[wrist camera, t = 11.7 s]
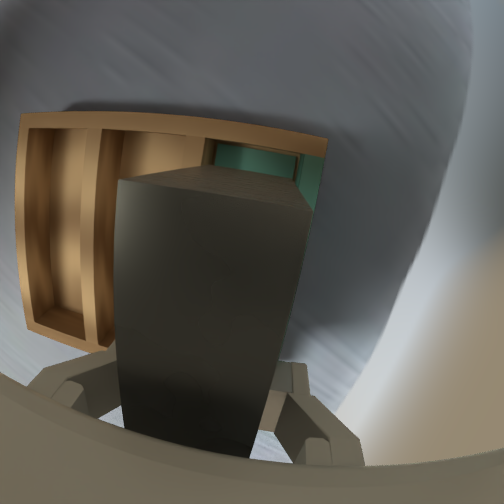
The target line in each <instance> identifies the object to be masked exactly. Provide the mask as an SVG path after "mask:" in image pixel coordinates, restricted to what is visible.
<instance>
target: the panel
mask: <svg viewBox="0 0 504 504" xmlns="http://www.w3.org/2000/svg"><path fill="white" fill-rule="evenodd" d="M312 217H313V210H312V208H311V207H310V205H309V204H308V202H307V201H306V199H305V198H304V196H303V195H302V193H301V192H300V190H299V189H298V187H297V186H296V184H295V183H294V182H293V180H292V179H291V178H286V177H280V176H275V175H270V174H264V173H258V172H253V171H247V170H241V169H235V168H228V167H222V166H215V165H203V166H196V167H189V168H182V169H176V170H170V171H163V172H157V173H152V174H146V175H140V176H135V177H130V178H124V179H119V180H118V188H117V200H116V214H115V233H114V268H113V292H114V326H115V345H116V359H117V370H118V381H119V390H120V399H121V407H122V414H123V421H124V428H125V429H128V430H131V431H134V432H137V433H140V434H143V435H147V436H150V437H154V438H157V439H161V440H164V441H168V442H172V443H175V444H179V445H183V446H188V447H192V448H196V449H201V450H205V451H210V452H215V453H220V454H226V455H231V456H237V457H243V458H249V457H250V454H251V451H252V448H253V445H254V441H255V438H256V435H257V432H258V428H259V425H260V422H261V418H262V415H263V411H264V408H265V405H266V401H267V398H268V394H269V391H270V387H271V384H272V380H273V376H274V373H275V369H276V366H277V362H278V358H279V355H280V351H281V347H282V343H283V339H284V336H285V332H286V328H287V324H288V320H289V316H290V312H291V308H292V304H293V300H294V296H295V292H296V288H297V283H298V279H299V275H300V271H301V266H302V262H303V258H304V253H305V249H306V244H307V240H308V235H309V231H310V226H311V222H312Z"/></svg>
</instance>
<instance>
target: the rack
mask: <svg viewBox="0 0 504 504" xmlns="http://www.w3.org/2000/svg"><path fill="white" fill-rule="evenodd" d="M327 144H328V139H327V138H323V137H318V136H313V135H309V134H304V133H299V132H294V131H289V130H283V129H278V128H272V127H267V126H261V125H254V124H248V123H241V122H234V121H227V120H219V119H211V118H202V117H193V116H183V115H171V114H158V113H141V112H117V111H62V112H39V113H23V114H21V118H20V126H19V134H18V144H17V156H16V173H15V231H16V248H17V260H18V270H19V279H20V287H21V294H22V301H23V307H24V313H25V319H26V324H27V329H28V330H31V331H33V332H36V333H38V334H40V335H43V336H45V337H48V338H50V339H53V340H56V341H58V342H61V343H63V344H66V345H69V346H72V347H74V348H77V349H80V350H83V351H86V352H89V353H95V352H98V351H101V350H103V351H106V350H107V349H108V348H109V346H110V345H111V344H112V343H113V341H114V340H115V326H114V292H113V268H114V233H115V214H116V200H117V188H118V180H119V179H124V178H130V177H135V176H140V175H146V174H152V173H157V172H163V171H170V170H176V169H182V168H189V167H196V166H203V165H215V166H222V167H228V168H235V169H241V170H247V171H253V172H258V173H264V174H270V175H275V176H280V177H286V178H291V179H292V180H293V182H294V183H295V184H296V186H297V187H298V189H299V190H300V192H301V193H302V195H303V196H304V198H305V199H306V201H307V202H308V204H309V205H310V207H311V208H312V210H313V215H314V210H315V205H316V200H317V196H318V191H319V186H320V181H321V176H322V170H323V165H324V160H325V155H326V149H327ZM312 219H313V217H312ZM311 224H312V222H311ZM310 229H311V226H310ZM309 233H310V231H309ZM308 238H309V235H308ZM307 242H308V240H307ZM306 247H307V244H306ZM305 251H306V249H305ZM304 255H305V253H304ZM303 260H304V258H303ZM302 264H303V262H302ZM301 268H302V266H301ZM300 273H301V271H300ZM299 277H300V275H299ZM298 281H299V279H298ZM297 285H298V283H297ZM296 289H297V288H296ZM295 294H296V292H295ZM294 298H295V296H294ZM293 302H294V300H293ZM292 306H293V304H292ZM291 310H292V308H291ZM290 314H291V312H290ZM289 318H290V316H289ZM288 322H289V320H288ZM287 325H288V324H287ZM286 329H287V328H286ZM285 333H286V332H285ZM284 337H285V336H284ZM283 341H284V339H283ZM282 345H283V343H282ZM281 348H282V347H281ZM280 352H281V351H280ZM279 356H280V355H279ZM278 359H279V358H278Z"/></svg>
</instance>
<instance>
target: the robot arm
mask: <svg viewBox="0 0 504 504" xmlns="http://www.w3.org/2000/svg"><path fill="white" fill-rule="evenodd" d="M120 405H121V399H120V390H119V381H118V370H117V359H116V345H115V340H114V341H113V343H112V344H111V345H110V346H109V348H108V349H107V350H106V351H103V350H101V351H98V352H95V353H91V354H88V355H85V356H82V357H79V358H75V359H72V360H69V361H66V362H62V363H59V364H56V365H52V366H49V367H46V368H44V369H43V370H42V371H41V372H40V373H39V374H38V375H37V376H36V377H35V378H34V379H33V380H32V381H31V382H30V383H29V385H28V386H27V387H26V386H24V385H22V384H20V383H18V382H17V381H15V380H13V379H11V378H9V377H8V376H6V375H4V374H2V373H1V372H0V504H504V448H500V449H497V450H492V451H488V452H484V453H479V454H474V455H469V456H463V457H457V458H451V459H444V460H438V461H429V462H421V463H410V464H398V465H379V466H365V462H364V458H363V453H362V448H361V444H360V439H359V438H358V437H356V436H355V435H354V434H353V433H352V432H351V431H350V430H349V429H348V428H347V427H346V426H345V425H344V424H343V423H342V422H341V421H340V420H338V418H337V417H336V416H335V415H334V414H333V413H331V412H330V411H329V410H328V409H327V408H326V407H325V406H324V405H323V404H322V403H321V402H320V401H319V400H318V399H317V398H316V397H315V396H311V395H310V388H309V379H308V371H307V365H306V364H305V363H296V362H285V361H278V362H277V366H276V369H275V373H274V376H273V380H272V384H271V387H270V391H269V394H268V398H267V401H266V405H265V408H264V411H263V415H262V418H261V422H260V425H259V428H258V430H264V431H270V432H274V434H275V436H276V437H277V439H278V440H279V442H280V443H281V445H282V447H283V448H284V450H285V451H286V453H287V454H288V456H289V457H290V459H291V460H292V462H293V463H294V464H293V463H282V462H273V461H265V460H257V459H250V458H243V457H237V456H231V455H226V454H220V453H215V452H210V451H205V450H201V449H196V448H192V447H188V446H183V445H179V444H175V443H172V442H168V441H164V440H161V439H157V438H154V437H150V436H147V435H143V434H140V433H137V432H134V431H131V430H128V429H125V428H122V427H119V426H116V425H113V424H110V423H107V422H105V421H102V420H99V419H98V418H99V417H101V416H103V415H105V414H107V413H108V412H110V411H112V410H113V409H115V408H117V407H119V406H120Z"/></svg>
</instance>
